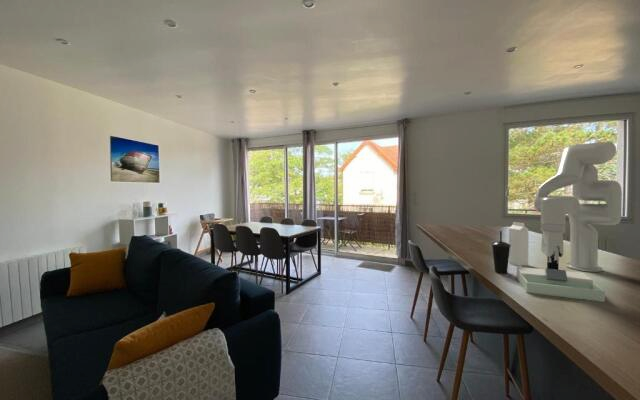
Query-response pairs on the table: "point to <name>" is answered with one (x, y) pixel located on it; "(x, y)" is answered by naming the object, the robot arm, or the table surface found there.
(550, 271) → the slate tile
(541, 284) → the box
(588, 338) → the table surface
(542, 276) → the cream rectangular block
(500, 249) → the drinking cup
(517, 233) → the milk
